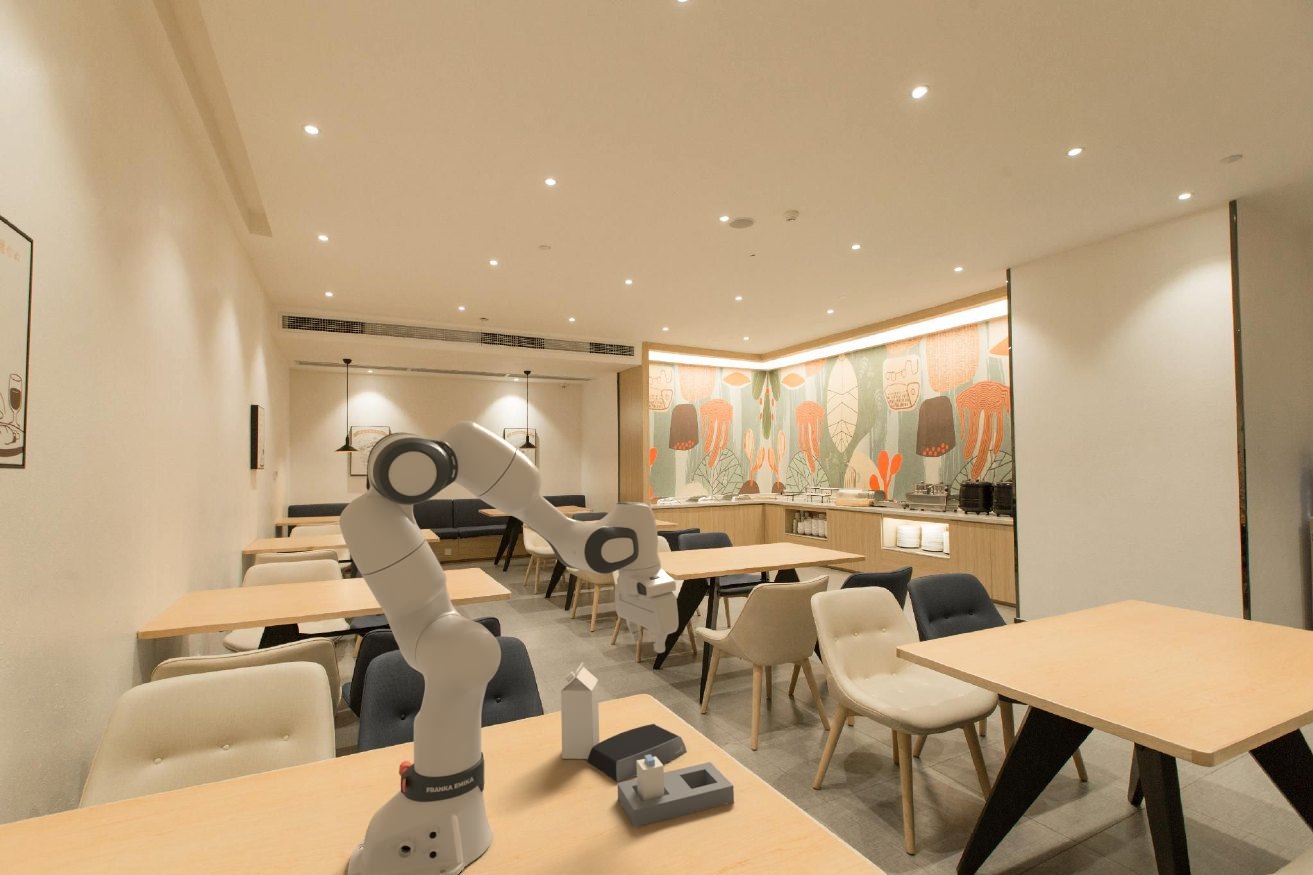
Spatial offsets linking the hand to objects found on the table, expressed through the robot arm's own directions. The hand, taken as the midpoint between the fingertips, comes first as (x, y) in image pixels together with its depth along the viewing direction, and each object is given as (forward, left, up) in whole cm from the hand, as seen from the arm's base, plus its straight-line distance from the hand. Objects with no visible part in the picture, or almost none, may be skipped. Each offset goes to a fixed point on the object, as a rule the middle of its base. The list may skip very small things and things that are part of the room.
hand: (647, 645), depth 120 cm
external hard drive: (+1, +12, -28) cm, 31 cm away
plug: (-3, -8, -28) cm, 29 cm away
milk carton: (-10, +19, -28) cm, 35 cm away
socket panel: (+2, -8, -27) cm, 29 cm away
